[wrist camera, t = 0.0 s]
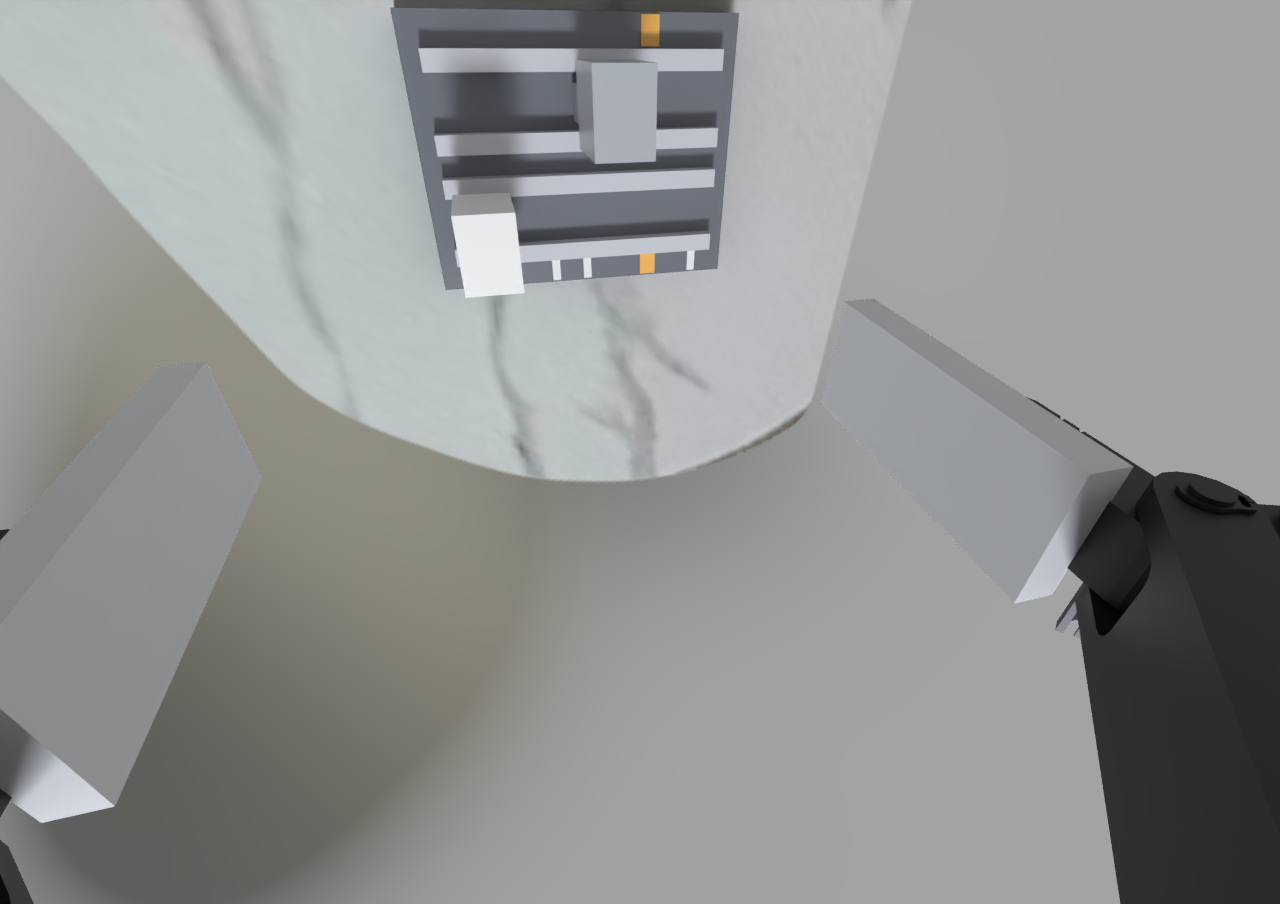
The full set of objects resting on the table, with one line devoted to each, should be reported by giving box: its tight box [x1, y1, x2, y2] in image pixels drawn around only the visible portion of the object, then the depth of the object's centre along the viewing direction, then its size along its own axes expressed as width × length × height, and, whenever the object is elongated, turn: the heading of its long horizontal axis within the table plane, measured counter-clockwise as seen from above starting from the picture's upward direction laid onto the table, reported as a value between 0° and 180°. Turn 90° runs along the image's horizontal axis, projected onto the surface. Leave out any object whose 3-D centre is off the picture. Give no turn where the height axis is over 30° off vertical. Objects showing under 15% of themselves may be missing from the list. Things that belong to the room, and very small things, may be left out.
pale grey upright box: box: [572, 59, 658, 164], centre depth 29 cm, size 4×3×7 cm
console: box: [391, 8, 739, 290], centre depth 34 cm, size 14×18×3 cm
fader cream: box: [451, 193, 524, 298], centre depth 31 cm, size 4×3×7 cm
